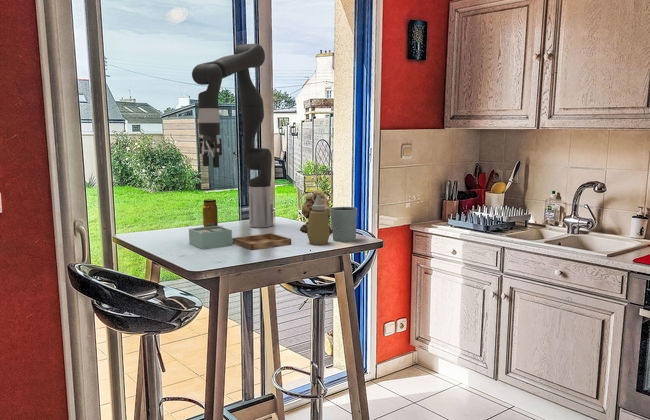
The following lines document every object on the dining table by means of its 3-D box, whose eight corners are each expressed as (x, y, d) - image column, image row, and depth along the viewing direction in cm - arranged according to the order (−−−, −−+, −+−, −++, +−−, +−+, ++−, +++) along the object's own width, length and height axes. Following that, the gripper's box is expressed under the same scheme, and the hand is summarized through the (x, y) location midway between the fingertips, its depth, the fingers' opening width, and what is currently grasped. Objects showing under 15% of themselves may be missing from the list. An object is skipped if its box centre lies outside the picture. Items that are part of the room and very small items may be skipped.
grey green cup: (355, 243, 200) (355, 210, 198) (328, 242, 201) (328, 209, 200) (358, 237, 210) (358, 206, 208) (332, 236, 211) (332, 206, 210)
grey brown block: (219, 242, 198) (219, 228, 198) (224, 243, 195) (224, 230, 195) (209, 243, 196) (209, 229, 195) (214, 245, 193) (213, 231, 192)
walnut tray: (271, 239, 205) (270, 233, 205) (291, 246, 194) (291, 238, 194) (232, 245, 196) (232, 237, 196) (251, 251, 185) (251, 244, 184)
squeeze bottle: (303, 246, 194) (303, 195, 191) (312, 242, 201) (311, 193, 199) (325, 247, 191) (325, 196, 189) (332, 243, 199) (333, 194, 196)
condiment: (203, 226, 235) (202, 198, 233) (223, 226, 236) (222, 198, 235) (201, 229, 228) (201, 200, 226) (222, 228, 229) (221, 200, 228)
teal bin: (218, 241, 202) (217, 225, 201) (232, 246, 193) (231, 230, 192) (189, 245, 195) (188, 228, 195) (202, 250, 187) (201, 233, 186)
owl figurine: (291, 229, 228) (291, 188, 225) (315, 227, 234) (315, 187, 232) (315, 236, 213) (315, 192, 211) (340, 233, 219) (340, 191, 217)
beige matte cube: (207, 243, 196) (206, 229, 195) (211, 245, 192) (210, 231, 192) (196, 244, 194) (195, 230, 193) (200, 246, 190) (199, 232, 189)
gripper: (227, 121, 193) (229, 167, 195) (210, 121, 204) (212, 165, 207) (207, 121, 188) (209, 168, 191) (191, 121, 200) (193, 166, 202)
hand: (210, 166), depth 199 cm, fingers open, 8 cm apart
